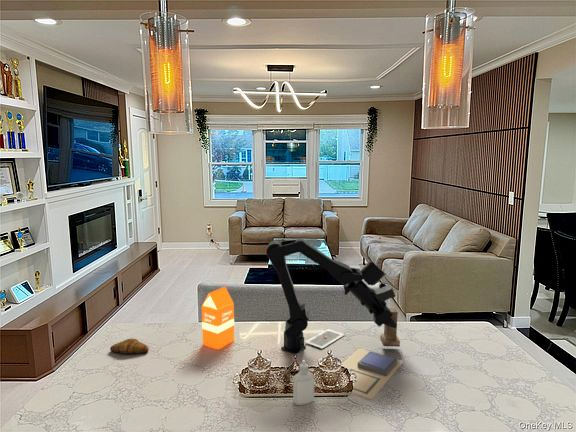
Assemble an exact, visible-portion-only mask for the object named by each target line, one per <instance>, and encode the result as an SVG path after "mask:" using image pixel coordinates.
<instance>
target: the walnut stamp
mask: <svg viewBox="0 0 576 432" xmlns="http://www.w3.org/2000/svg"><path fill="white" fill-rule="evenodd" d="M388 308H389V309H390V310H391V312H392V314H393V315H392V316H391V318H392V319H393V321H394V322H395V324H396V325H397V327H396V328H393V327H390V326H387V325H384V324H383V326H384V328H383V333H380V338H379V339H380V342H381V343H382V346H383V347H397V348H398V347H401V340H400V339H399V337H398V317H399V316H398V314H399V312H398V310H397V309H396V308H392V307H391V308H390V307H388Z"/></svg>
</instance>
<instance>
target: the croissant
mask: <svg viewBox="0 0 576 432" xmlns="http://www.w3.org/2000/svg"><path fill="white" fill-rule="evenodd" d="M109 350H110V352H112V353H115V354H121V355H134V354H135V355H140V354H146V353H148V352H149V350H150V348H149V346H147V344H145V343H144V342H141V341H139V340H138V339H137V338H126V339H125V340H123V341H119V342H117V343H115V344H112V345H111V346H110V348H109Z"/></svg>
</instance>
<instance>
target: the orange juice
mask: <svg viewBox="0 0 576 432" xmlns="http://www.w3.org/2000/svg"><path fill="white" fill-rule="evenodd" d="M201 329H202V331H201V332H202V345H203V346H206V347H209V348H213V349H215V350H221V349H222V348H224V347H225V346H227V345H229V344H231V343H232V342H234V341H235V303H234V301H233V299H232V297H231V295H230V293H229V291H228V290H227V288H226V286H222V287H221V288H218V289H216V290H213V291H211V292H208V294H207V296H206V297H205V300H204V301H203V303H202V305H201Z"/></svg>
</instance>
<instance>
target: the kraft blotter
mask: <svg viewBox="0 0 576 432" xmlns="http://www.w3.org/2000/svg"><path fill="white" fill-rule="evenodd" d="M370 351H371V350H370ZM370 351H369V350H367V349H363V348H358V349H357V350H356V351H354V352H353V353H352V354H351V355H350V356H349V357H348V358H346V359H345V360H344V361H342V363H341V364H343V366H344V367H346V368H348V369H349V371H350V372H351V373H355V374H356V376H357V382H355V383H354V389H353V392H351V393H353V394H355V395H358V396H361V397H364V398H366V399H368V400H373V398H374V397H375V396H376V395H377V394H378V392H380V390H381V389H382V388H383V386H385V384H387V382H388V381H389V379H390V378H391V377H392V376H393V375H394V374H395V372H396V371H397V370H398V368H400V366H401V365H402V364H403V363H404V360H401V359H397V365H396V366H395V367H394V368H393V369H392V370H391V371H390V373H389V374H388V375H387V376H383V375H380V374H377V373H374V372H371V371H368V370H365V369H362V368H359V367H358V362H359V361H360V360H361V359H362V358H363V357H364V356H365V355H367V354H368V353H369V352H370Z"/></svg>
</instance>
